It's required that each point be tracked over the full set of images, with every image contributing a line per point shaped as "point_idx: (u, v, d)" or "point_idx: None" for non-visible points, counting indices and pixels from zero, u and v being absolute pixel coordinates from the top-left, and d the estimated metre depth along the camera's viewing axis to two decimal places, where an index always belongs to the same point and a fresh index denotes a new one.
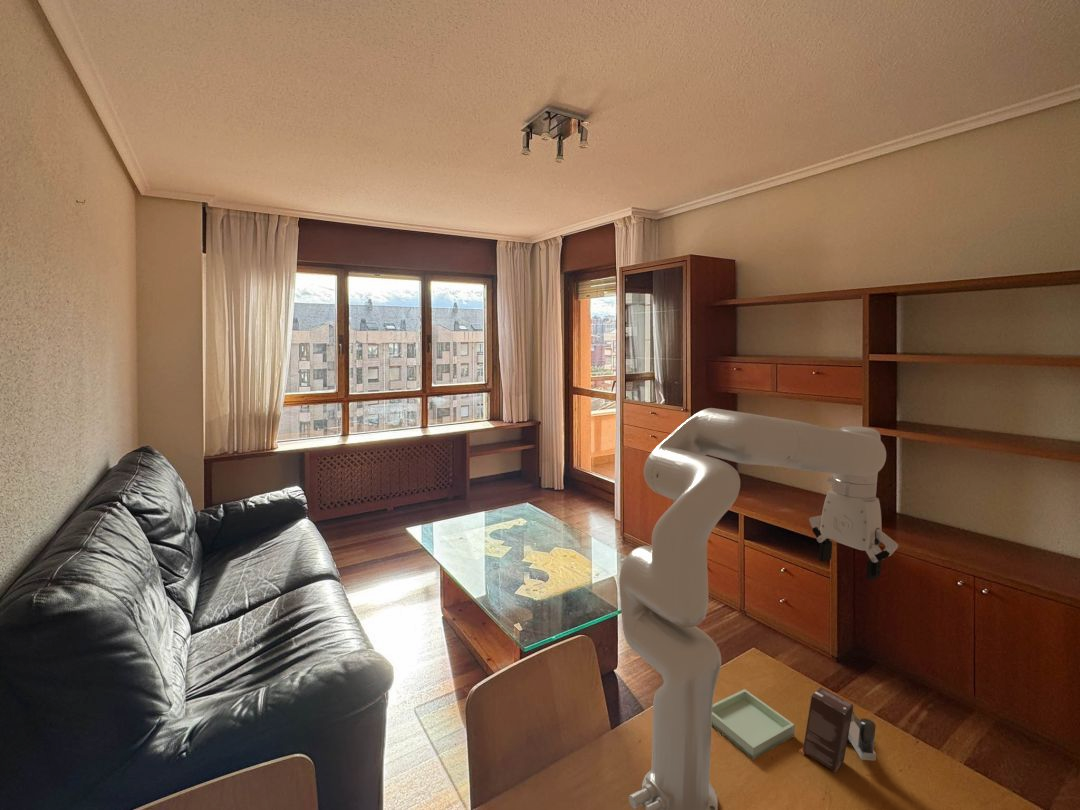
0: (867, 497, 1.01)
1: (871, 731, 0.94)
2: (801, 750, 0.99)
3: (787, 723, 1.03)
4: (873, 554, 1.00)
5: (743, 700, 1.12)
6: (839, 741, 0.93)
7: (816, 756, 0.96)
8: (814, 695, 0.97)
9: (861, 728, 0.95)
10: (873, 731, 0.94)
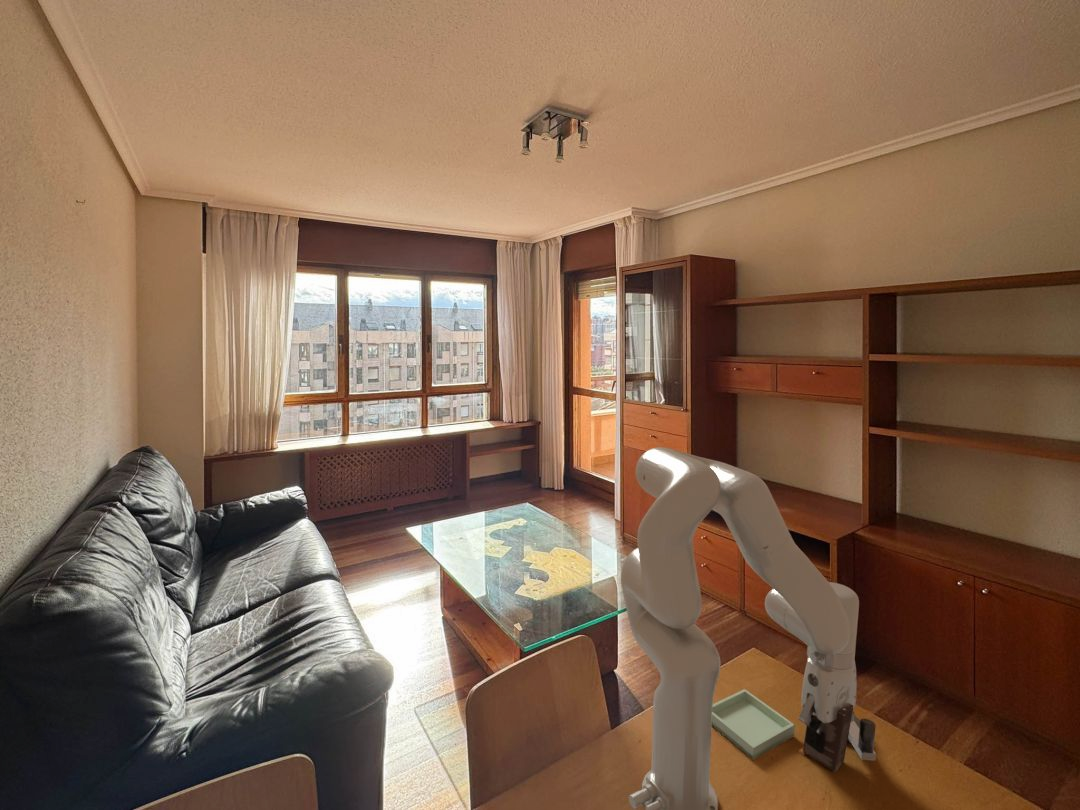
0: None
1: (871, 731, 0.94)
2: (801, 750, 0.99)
3: (787, 723, 1.03)
4: None
5: (743, 700, 1.12)
6: (839, 742, 0.93)
7: (816, 756, 0.96)
8: None
9: (861, 728, 0.95)
10: (873, 731, 0.94)
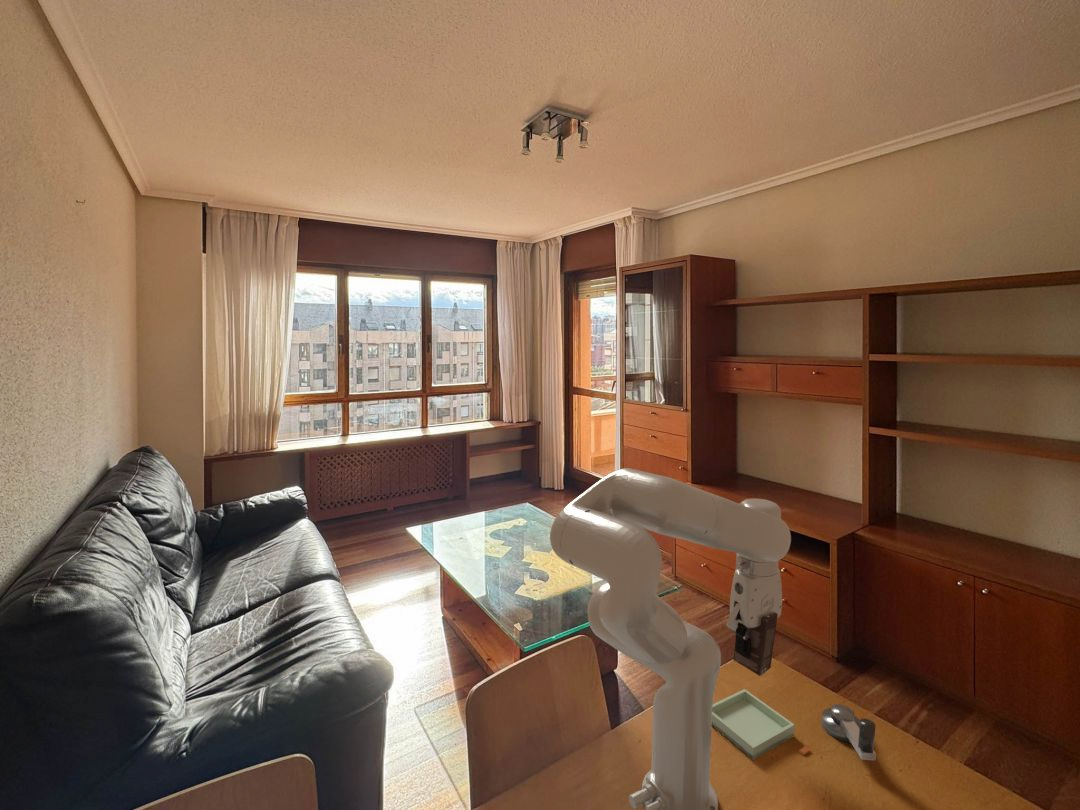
0: None
1: (871, 731, 0.94)
2: (801, 750, 0.99)
3: (787, 723, 1.03)
4: None
5: (743, 700, 1.12)
6: (763, 647, 0.99)
7: (744, 663, 1.02)
8: None
9: (861, 728, 0.95)
10: (873, 731, 0.94)
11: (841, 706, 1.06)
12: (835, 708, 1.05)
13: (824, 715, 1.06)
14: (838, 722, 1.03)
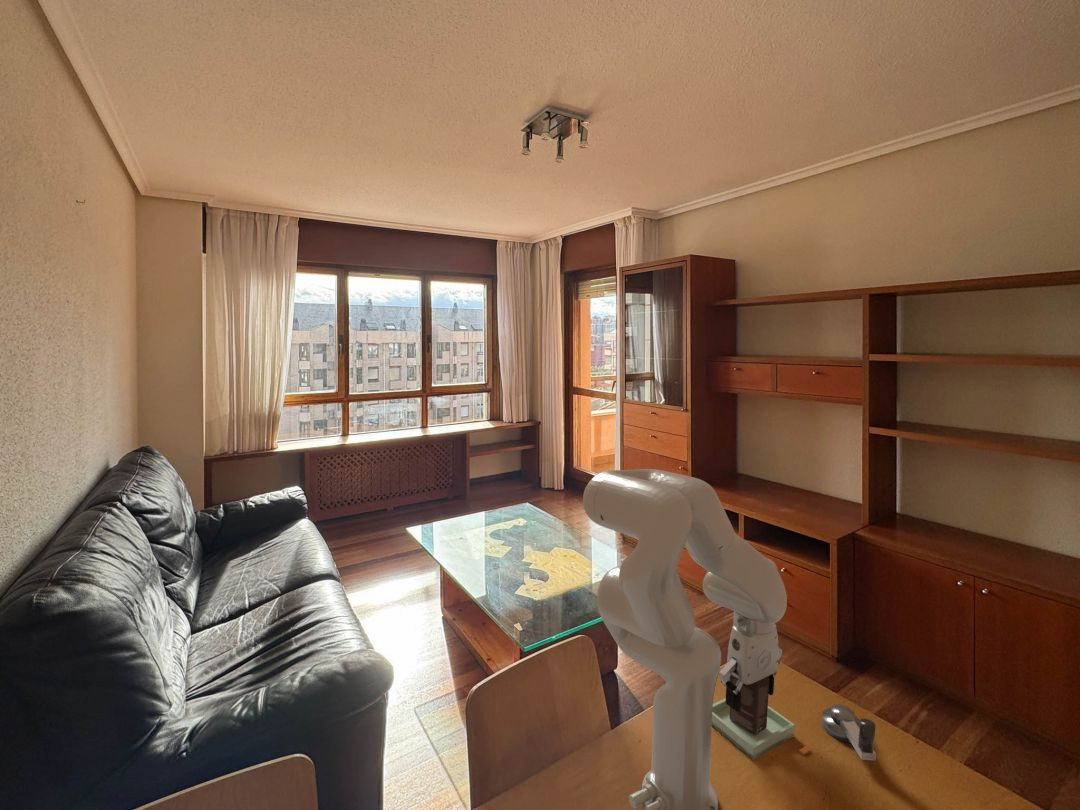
0: None
1: (871, 731, 0.94)
2: (801, 750, 0.99)
3: (787, 723, 1.03)
4: None
5: None
6: (756, 705, 1.01)
7: (740, 722, 1.04)
8: None
9: (861, 728, 0.95)
10: (873, 731, 0.94)
11: (841, 706, 1.06)
12: (835, 708, 1.05)
13: (824, 715, 1.06)
14: (838, 722, 1.03)
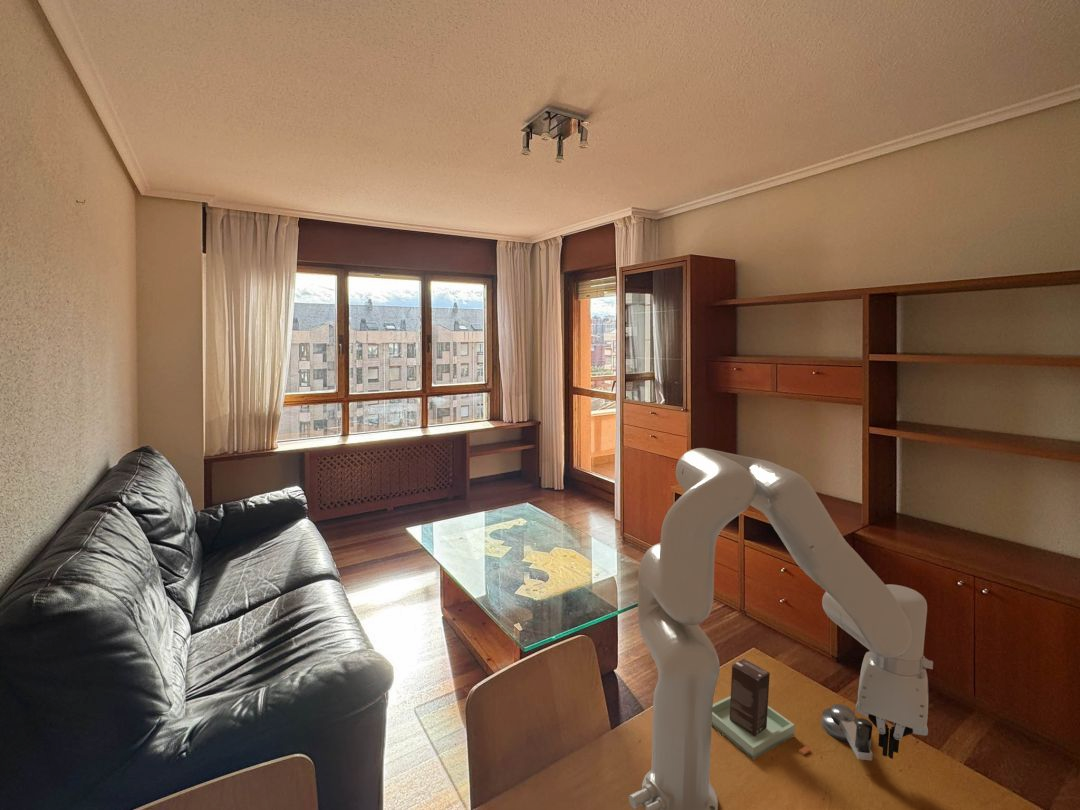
0: None
1: (867, 731, 0.94)
2: (801, 750, 0.99)
3: (787, 723, 1.03)
4: None
5: None
6: (756, 706, 1.01)
7: (740, 723, 1.04)
8: (734, 665, 1.05)
9: (858, 727, 0.95)
10: (870, 731, 0.94)
11: (841, 706, 1.05)
12: (835, 708, 1.05)
13: (824, 715, 1.06)
14: (837, 722, 1.03)
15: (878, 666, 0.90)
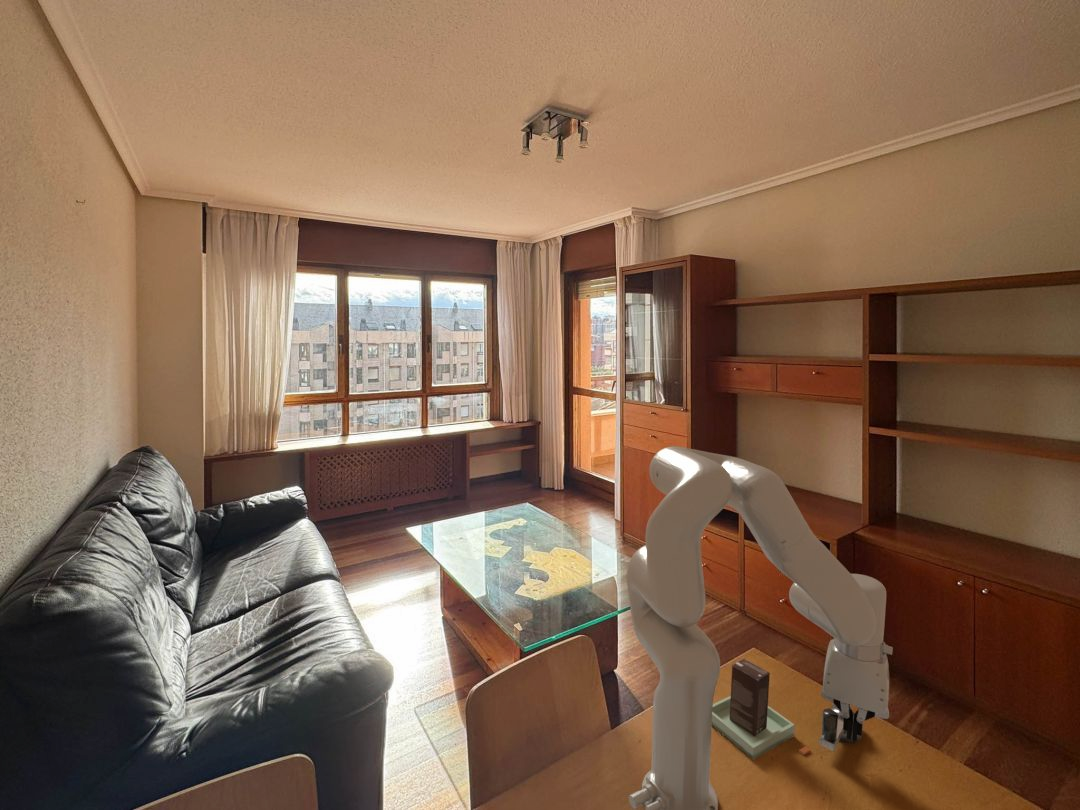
0: None
1: (829, 720, 0.96)
2: (801, 750, 0.99)
3: (787, 723, 1.03)
4: None
5: None
6: (756, 706, 1.01)
7: (740, 723, 1.04)
8: (734, 665, 1.05)
9: (823, 715, 0.98)
10: (831, 721, 0.96)
11: None
12: None
13: None
14: None
15: (841, 652, 0.93)
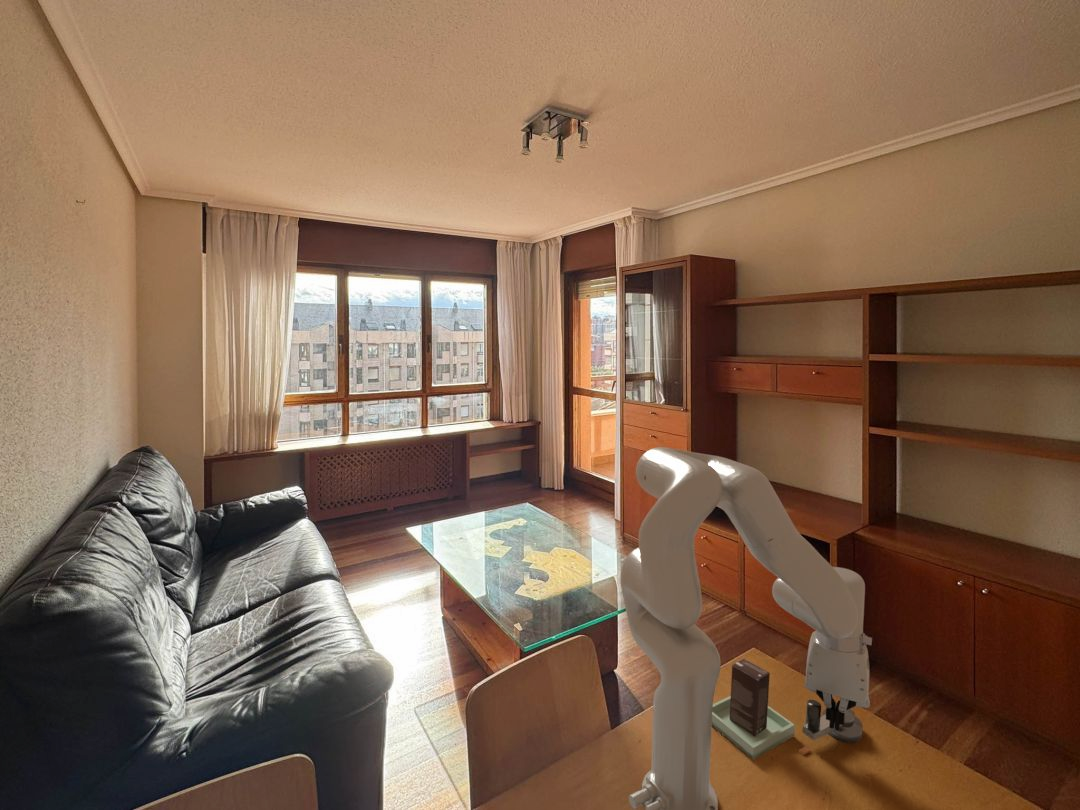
0: None
1: (810, 709, 0.99)
2: (801, 750, 0.99)
3: (787, 723, 1.03)
4: None
5: None
6: (756, 706, 1.01)
7: (740, 723, 1.04)
8: (734, 665, 1.05)
9: (807, 704, 1.01)
10: (812, 710, 0.99)
11: (848, 709, 1.05)
12: None
13: None
14: None
15: (822, 644, 0.95)
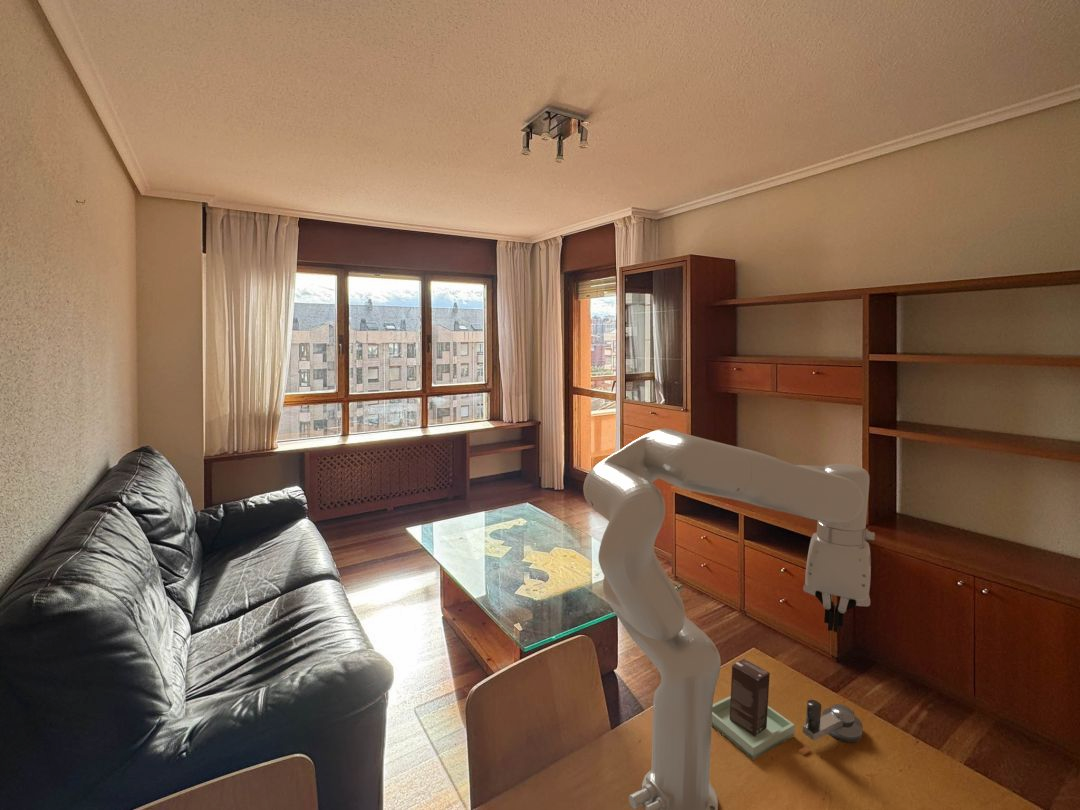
0: None
1: (810, 709, 0.99)
2: (801, 750, 0.99)
3: (787, 723, 1.03)
4: None
5: None
6: (756, 706, 1.01)
7: (740, 723, 1.04)
8: (734, 665, 1.05)
9: (807, 704, 1.01)
10: (812, 711, 0.99)
11: (848, 709, 1.05)
12: (839, 706, 1.06)
13: None
14: None
15: (823, 540, 0.93)
